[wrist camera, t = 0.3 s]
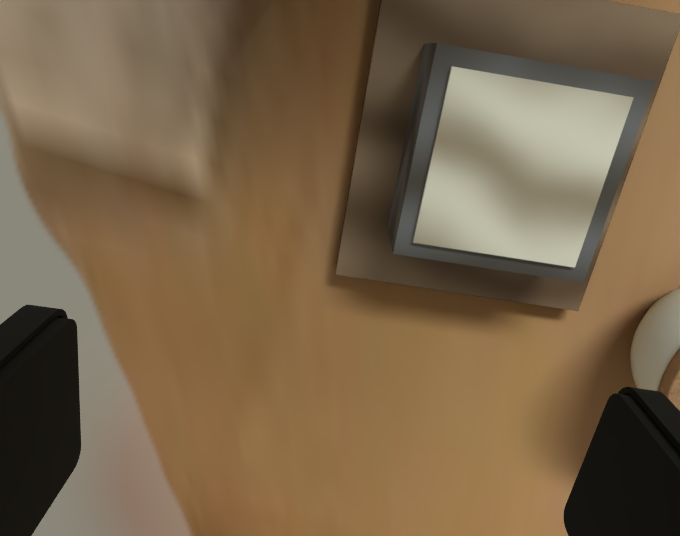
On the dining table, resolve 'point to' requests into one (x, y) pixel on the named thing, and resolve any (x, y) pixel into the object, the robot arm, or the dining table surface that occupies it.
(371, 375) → the dining table surface
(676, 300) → the lidded bowl
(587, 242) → the stand
